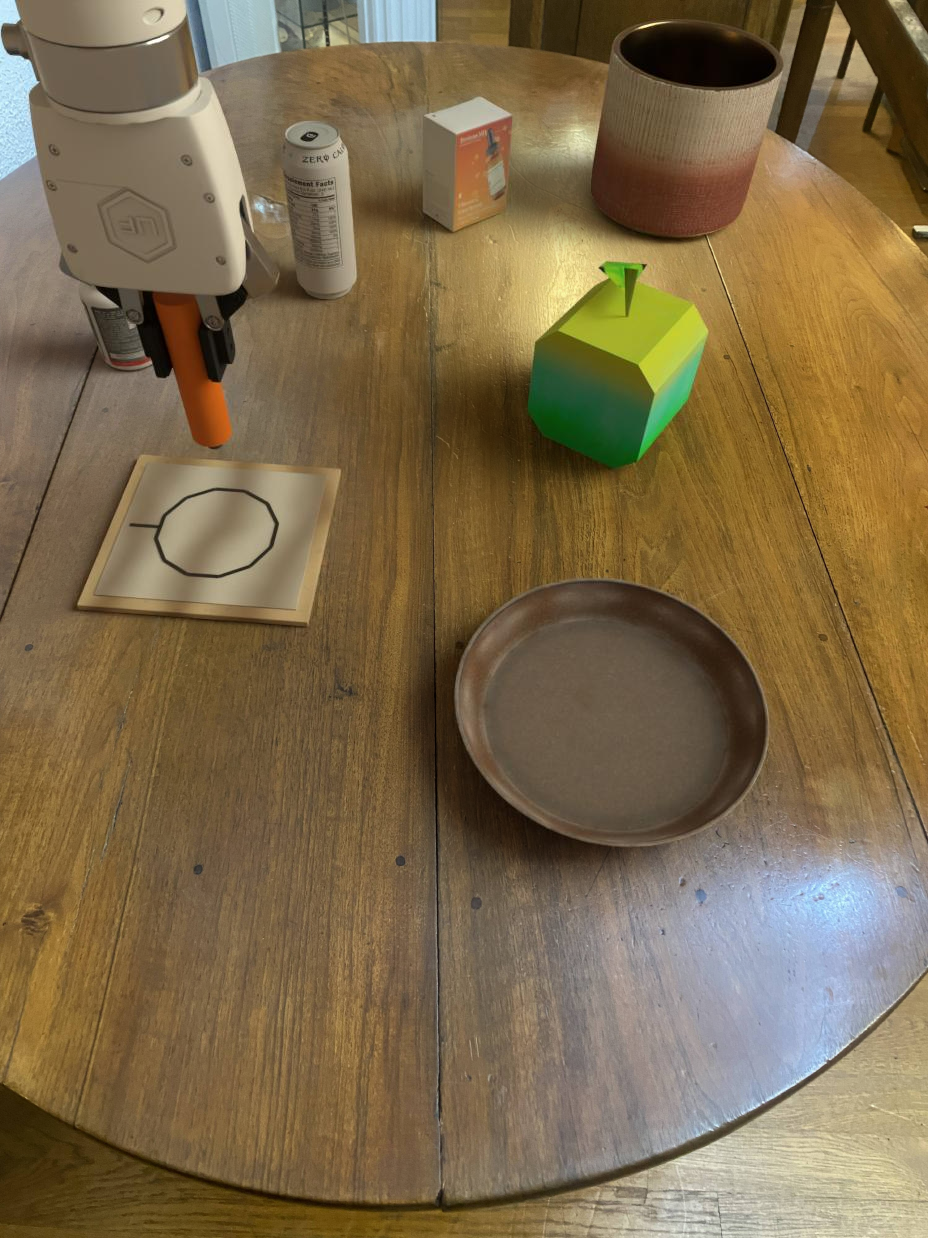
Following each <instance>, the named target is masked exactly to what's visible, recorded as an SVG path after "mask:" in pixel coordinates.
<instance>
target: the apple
mask: <svg viewBox="0 0 928 1238" xmlns="http://www.w3.org/2000/svg"><path fill="white" fill-rule="evenodd" d="M647 265H648V263H637V262H636V263H635V262H623V261H610V260H606V261H604V262H603V263H602V264H601V265H600V266H599V267H598V269H599V270H600V272H602V273H603V274H604V275H605V276H606V277H608V278H606V279H604V280H603V281H601V282H598V283H597V284H595V285H594V286H592V287H591V288H590V289H589V290H588V291H587V292H586V293H585V294H584V295H583V296H582V297H581V298H580V299H579V300H578V301H577V302H576V303H574V304H573V305H572V306H571V307H570V308H569V309H568V310H567V311H566V312H565V313H564V314H563V315H562V316H560V317H559V319H557V320H556V322H554V324H552V325H551V326H550V327H549V328H548V329H547V330H546V331H545V332H544V333H543V334H542V335H540V337H539V338H538V339H536V341H535V342H534V348H533V349H534V350H533V358H532V367H531V375H530V384H529V393H528V401H527V409H526V411H527V413H528V414H529V416H530V418H531V419H532V420H533V422H534V424H535V426H536V427H537V428H538V430H539V432H540V433H541V435H542V436H543V437H545V438H547V439H549V440H552V441H554V442H556V443H558V444H560V445H563V447H566V448H569V449H571V450H573V451H575V452H577V453H579V454H581V455H582V456H583V455H584V456H586V457H587V458H590V459H592V460H593V461H596V462H598V463H600V464H602V465H605V466H606V467H609V468H611V469H613V470H614V469H618V468H620V467H624V466H628V465H631V464H634V463H637V462H638V461H639V460H640V459H641V458H642V457H643V455H644V454H645V453H646V452H647V450H648V449H649V448H650V447H651V445H652V444H653V443H654V442H655V441H656V440H657V438H658V437H659V436H660V434H661V433H662V432H663V431H664V430H665V428H666V427H667V426H668V425H669V423H671V421H672V420H673V419H674V418H675V416H676V415H677V414H678V412H679V411H680V410H681V409H682V408H683V407H684V405H685V404H686V403H687V402H688V400H689V397H690V394H691V390H692V387H693V384H694V380H695V377H696V375H697V372H698V368H699V364H700V362H701V359H702V355H703V351H704V349H705V345H706V342H707V338H708V335H709V330H708V328H707V326H706V324H705V322H704V320H703V318H702V316H701V315H700V312H699V311H698V309H697V307H696V305H695V303H694V302H692V301H691V302H690V301H688V300H686V299H683V298H681V297H678V296H676V295H673V294H671V293H668V292H666V291H663V290H660V289H658V288H656V287H652V286H650V285H648V284H645V283H642V282H640V281H638V280H639V278H640V276H641V274H642V273H643V272H644V270H645V269H646V267H647Z"/></svg>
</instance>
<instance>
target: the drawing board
mask: <svg viewBox="0 0 928 1238" xmlns="http://www.w3.org/2000/svg"><path fill="white" fill-rule="evenodd" d="M341 477H342V469H341V468H332V467H319V466H307V465H294V464H293V465H292V464H278V463H263V462H251V461H237V460H236V461H235V460H224V459H223V460H221V459H208V458H195V457H194V458H193V457H182V456H181V457H180V456H167V455H154V454H139V456H138V458H137V461H136V462H135V465H134V468H133V470H132V472H131V475H130V477H129V480H128V482H127V483H126V484H127V485H126V487H125V489H124V491H123V493H122V496H121V498H120V501H119V503H118V506H117V508H116V511H115V513H114V514H113V518H112V520H111V522H110V525H109V527H108V529H107V532H106V534H105V537H104V539H103V541H102V544H101V546H100V548H99V551H98V554H97V556H96V558H95V560H94V562H93V565H92V567H91V570H90V572H89V575H88V578H87V580H86V582H85V584H84V587H83V589H82V592H81V593H80V596H79V598H78V600H77V603H76V607H77V608H78V610H81V611H92V612H104V613H105V612H106V613H120V614H133V615H147V616H161V617H175V618H185V619H186V618H187V619H198V620H200V619H201V620H214V621H228V622H240V623H251V624H252V623H254V624H267V625H280V626H281V625H282V626H295V627H309V626H310V625H309V624H310V621H311V616H312V611H313V606H314V602H315V598H316V592H317V588H318V583H319V579H320V574H321V570H322V565H323V559H324V555H325V551H326V547H327V541H328V537H329V532H330V527H331V524H332V519H333V514H334V510H335V509H334V508H335V504H336V500H337V496H338V491H339V486H340V482H341Z"/></svg>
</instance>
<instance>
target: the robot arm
mask: <svg viewBox="0 0 928 1238" xmlns="http://www.w3.org/2000/svg"><path fill="white" fill-rule="evenodd" d="M14 3H15V6H16V11H17V13H18V16H19V20H18V21H17V22H16V23H10V22H4V23H2V25H1V26H0V38H1V43H2V46H3V48H4V50H5V53H6V54H8V55H9V56H13V57H15V56H16V57H22V58H23V59H24V60H27V61H29V63H30V64H31V67H32V70H33V74H34V76H35V79H36V81H37V82H38V83H36V84H35V85H33V87H32V88H31V89H30V90H29V93H28V103H29V112H30V121H31V128H32V134H33V140H34V141H33V142H34V146H35V147H34V148H35V151H36V158H37V162H38V167H39V172H40V177H41V181H42V185H43V186H42V187H43V190H44V194H45V198H46V202H47V206H48V209H49V212H50V217H51V220H52V223H53V227H54V231H55V234H56V237H57V238H56V239H57V241H58V244H59V247H60V250H61V252H60V257H59V263H58V266H59V270H60V272H62V273H63V274H64V275H66V276H68V277H70V278H72V279H74V280H77V281H78V282H80V281H81V282H83V283H85V284H87V285H89V286H92V285H93V286H95V287H96V289H97V290H98V291H99V292H100V293H101V294H102V295H104V296H105V297H106V298H108V299H109V300H110V301H112V302H113V303H114V304H116V305H117V306H118V307H120V308H121V309H122V310H123V313H124V316H125V318H126V319H127V320H128V321H129V322H130V323H132V324H136V327H137V330H138V333H139V337H140V340H141V343H142V347H143V350H144V353H145V356H146V357H147V358H151V361H152V364H151V365H152V367H153V370H154V375H155V377H156V378H157V379H167V377H170V375H171V372H172V370H173V367H172V363H171V360H170V356H169V353H168V349H167V346H166V342H165V339H164V335H163V332H162V328H161V325H160V321H159V318H158V314H157V311H156V307H155V303H154V300H153V291H154V292H167V293H180V294H193V295H195V297H196V300H197V303H198V306H199V309H200V313H201V319H202V322H201V324H200V327H199V329H198V338H199V342H200V346H201V350H202V354H203V358H204V363H205V367H206V371H207V375H208V379H209V380H211V381H212V382H218V383H220V382H221V383H222V380H223V377H224V375H225V372H226V369H227V367H228V365H233V363H234V361H235V358H236V343H235V339H234V334H233V329H232V324H231V319H230V318H231V317H232V316H233V315H235V313H237V311H238V310H239V309H241V308H242V307H243V306H244V305H245V303H246V302H247V301H249V300H255V299H257V298H259V297H262V296H265V295H267V294H270V293H272V292H274V291H275V290H276V288H277V285H278V282H279V279H280V275H281V274H280V273H281V272H280V271H279V269H278V267H277V265H276V264H275V263H274V261H273V260H272V259H271V257H270V255H269V254H268V252H267V250H266V249H265V248H264V246H263V244H262V243H261V242H260V240H259V239H258V238H257V236H256V234H255V229H254V224H253V223H254V222H253V217H252V212H251V207H250V202H249V197H248V195H247V188H246V184H245V181H244V177H243V174H242V169H241V165H240V161H239V158H238V157H239V156H238V154H237V151H236V147H235V143H234V140H233V138H232V135H231V132H230V128H229V125H228V122H227V120H226V117H225V114H224V111H223V108H222V106H221V102H220V100H219V98H218V96H217V93H216V90H215V88H214V86H213V83H212V82H211V81H210V79H208V78H206V77H204V76H200V75H199V69H198V64H197V58H196V53H195V47H194V43H193V37H192V32H191V26H190V21H189V20H190V19H189V15H188V11H187V3H186V0H14Z"/></svg>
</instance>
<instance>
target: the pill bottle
mask: <svg viewBox="0 0 928 1238" xmlns="http://www.w3.org/2000/svg"><path fill="white" fill-rule="evenodd" d="M78 295H79V298H80V301H81V303H82V306H83V309H84V311H85V314H86V317H87V319H88V322H89V325H90V328H91V330H92V333H93V337H94V339H95V341H96V345H97V347H98V349H99V352H100V355H101V356H102V357H101V358H102V359H103V360H104V361H105V363H107V365H108V366H110V367H112V368H114V369H117V370H122V371H137V370H141V369H144V368H147V367H150V366H151V365H153V364H152V361H151V358H147V357H146V356H145V353H144V350H143V347H142V343H141V340H140V337H139V333H138V330H137V327H136V324H132V323H130V322H129V321H128V320H127V319H126V318H125V316H124V313H123V310H122V309H121V308H120V307H118V306H117V305H116V304H114V303H113V302H112V301H110V300H109V299H108V298H106V297H105V296H104V295H102V294H101V293H100V292H99V291H98V290H97V289H96V287H95V286H93V285H92V286H89V285H87V284H85V283H83V282H81V281H79V282H78Z"/></svg>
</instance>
